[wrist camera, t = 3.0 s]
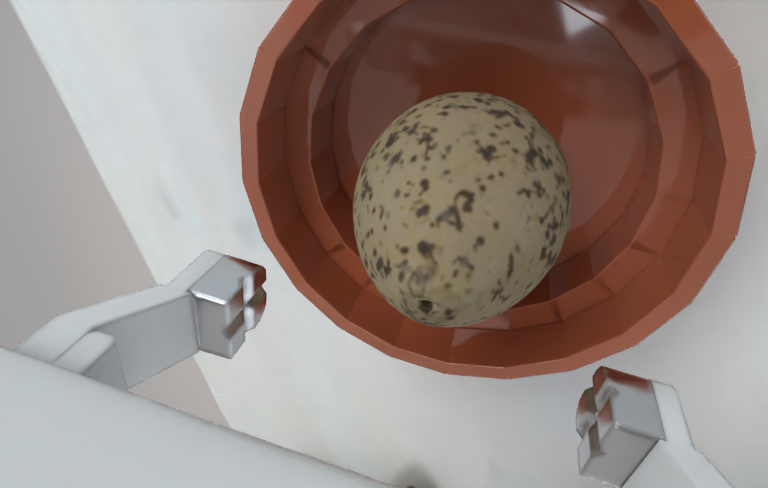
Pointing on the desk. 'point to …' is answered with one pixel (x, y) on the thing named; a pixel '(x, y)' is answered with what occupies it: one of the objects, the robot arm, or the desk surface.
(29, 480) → the robot arm
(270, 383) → the desk surface
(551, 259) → the decorative egg
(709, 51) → the bowl
